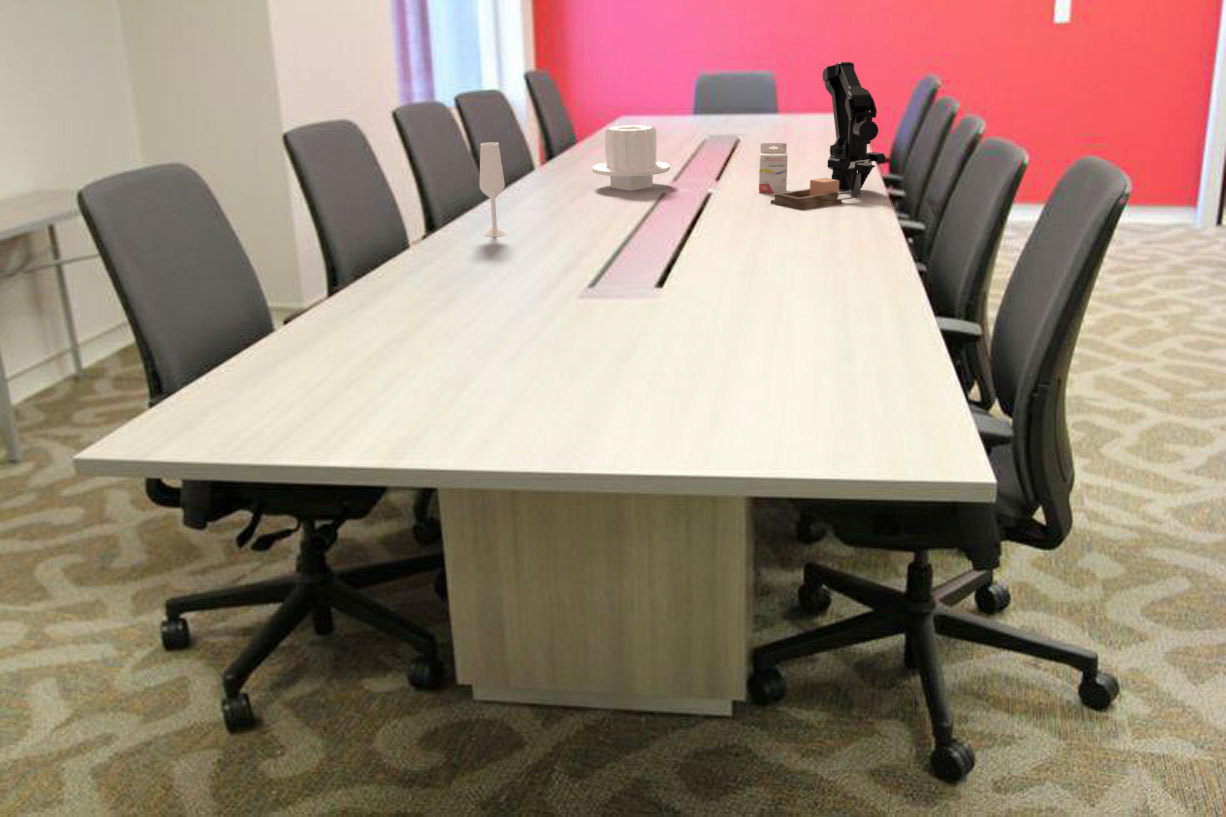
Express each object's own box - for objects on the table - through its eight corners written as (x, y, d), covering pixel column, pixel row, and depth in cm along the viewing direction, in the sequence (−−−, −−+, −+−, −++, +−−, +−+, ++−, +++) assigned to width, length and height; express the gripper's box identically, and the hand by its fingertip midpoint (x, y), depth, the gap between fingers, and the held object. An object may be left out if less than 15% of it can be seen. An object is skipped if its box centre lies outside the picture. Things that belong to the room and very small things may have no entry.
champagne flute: (479, 233, 318) (473, 143, 309) (503, 230, 320) (497, 141, 312) (487, 237, 312) (481, 146, 303) (511, 235, 314) (505, 144, 306)
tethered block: (851, 193, 359) (852, 171, 356) (865, 195, 354) (866, 173, 352) (809, 199, 350) (810, 177, 348) (823, 202, 345) (824, 180, 343)
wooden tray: (809, 197, 355) (809, 187, 354) (841, 203, 344) (842, 193, 343) (770, 203, 348) (770, 193, 347) (802, 210, 336) (802, 199, 335)
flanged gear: (628, 197, 364) (627, 134, 357) (577, 188, 382) (575, 128, 375) (686, 186, 379) (686, 126, 373) (634, 178, 397) (633, 121, 390)
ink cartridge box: (758, 193, 364) (759, 145, 359) (758, 190, 369) (759, 142, 364) (786, 193, 363) (787, 144, 358) (786, 190, 368) (787, 142, 363)
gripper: (861, 131, 361) (859, 182, 366) (815, 137, 351) (814, 189, 357) (888, 134, 352) (885, 187, 357) (841, 140, 342) (839, 194, 348)
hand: (855, 189), depth 355 cm, fingers closed on tethered block, 3 cm apart
